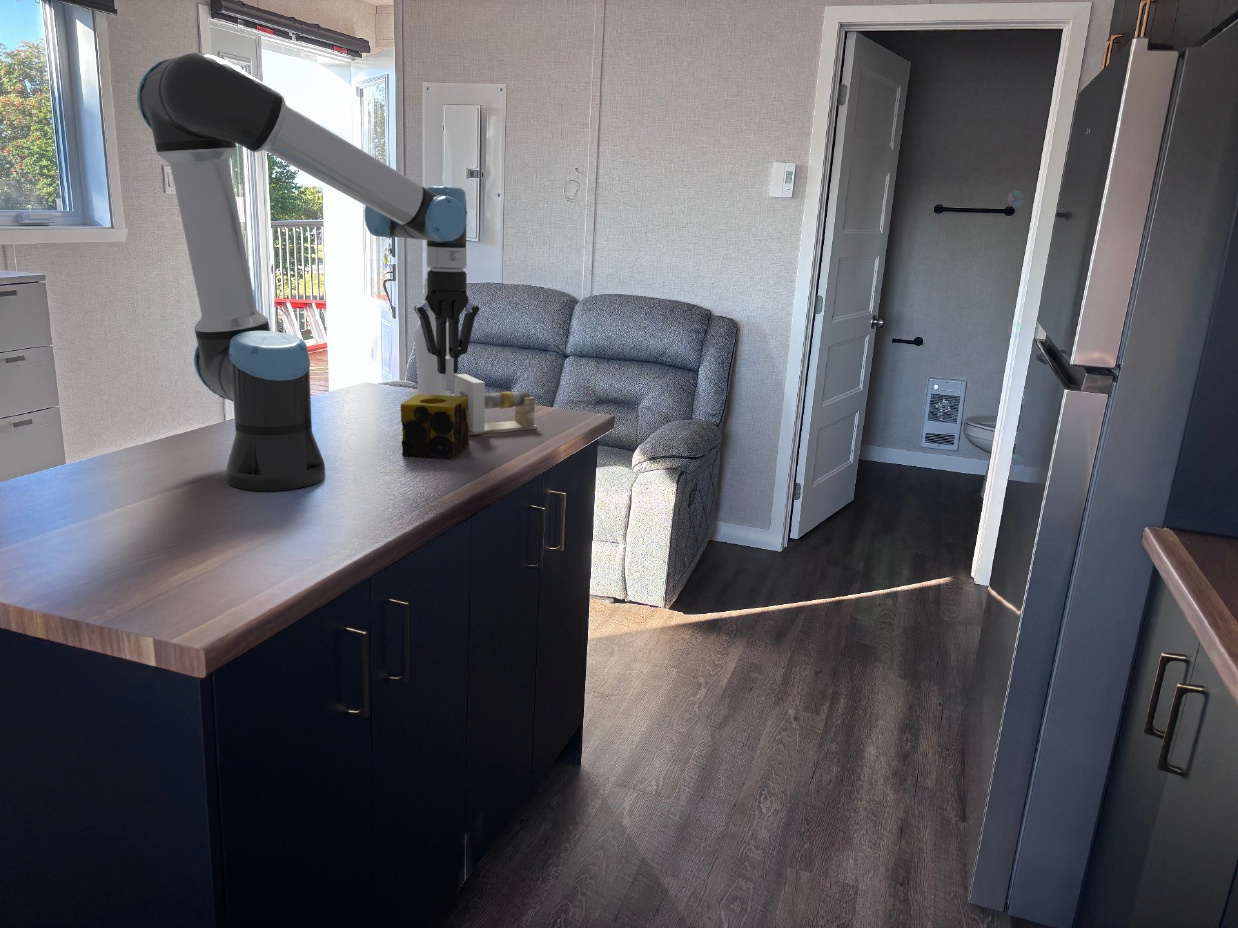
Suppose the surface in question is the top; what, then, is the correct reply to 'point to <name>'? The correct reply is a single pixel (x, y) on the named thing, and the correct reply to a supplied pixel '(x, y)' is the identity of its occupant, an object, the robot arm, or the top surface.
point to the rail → (514, 425)
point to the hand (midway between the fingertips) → (447, 389)
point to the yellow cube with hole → (434, 426)
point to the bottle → (428, 359)
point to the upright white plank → (472, 400)
